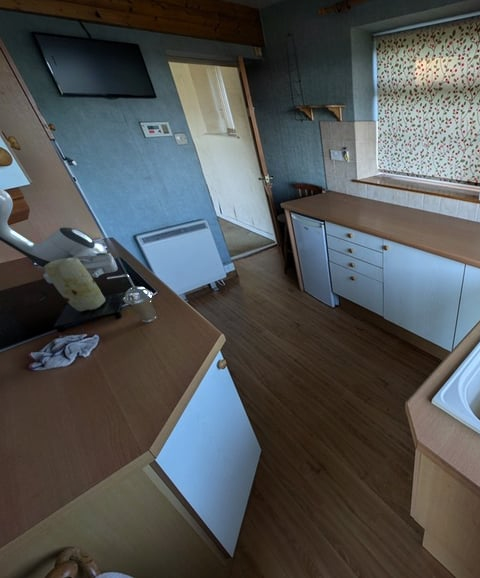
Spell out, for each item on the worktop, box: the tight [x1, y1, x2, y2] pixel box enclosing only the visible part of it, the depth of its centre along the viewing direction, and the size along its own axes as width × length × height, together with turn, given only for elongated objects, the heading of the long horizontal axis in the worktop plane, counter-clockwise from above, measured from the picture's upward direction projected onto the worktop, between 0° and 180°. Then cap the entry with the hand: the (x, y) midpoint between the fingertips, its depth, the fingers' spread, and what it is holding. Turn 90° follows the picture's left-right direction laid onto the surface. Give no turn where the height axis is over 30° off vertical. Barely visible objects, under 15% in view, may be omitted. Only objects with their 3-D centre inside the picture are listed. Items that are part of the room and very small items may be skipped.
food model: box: [43, 257, 105, 311], centre depth 106 cm, size 10×7×20 cm
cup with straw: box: [106, 274, 158, 324], centre depth 105 cm, size 8×9×20 cm
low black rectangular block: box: [52, 291, 126, 334], centre depth 112 cm, size 18×16×3 cm
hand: (77, 279), depth 106 cm, fingers open, 8 cm apart
